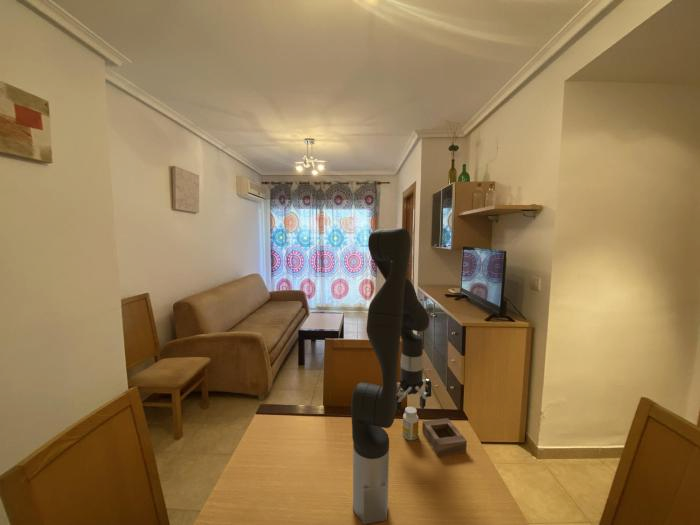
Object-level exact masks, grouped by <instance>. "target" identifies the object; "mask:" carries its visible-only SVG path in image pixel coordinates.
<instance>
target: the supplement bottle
mask: <svg viewBox="0 0 700 525" xmlns="http://www.w3.org/2000/svg"><path fill="white" fill-rule="evenodd" d="M417 414H418V412H417V408H415V407H414V406H407V407H405V409H404V413H403V415H402V435H403V437H404V438H405V439H406V440H409V441H414V440H417V439H418V437H419V416H418V415H417Z"/></svg>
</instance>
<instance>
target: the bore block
mask: <svg viewBox="0 0 700 525" xmlns="http://www.w3.org/2000/svg"><path fill="white" fill-rule="evenodd" d="M421 424H422V425H421V427H422V430H421V431H422V434H423V435H424V437H425V438H426V440H427V442H428V444H430V446H431V447H432V450H433V451H434V452H435V454H436V456H437V457H442V456H449V455H456V454H462V453H463V454H464V453H467V440H466V438H465V437H464V436H463V435H462V433H461V432H460V430H458V428H457V427H456V426H455V425H454V424H453V422H452V421H451V419H449V417H447V418H440V419H439V418H438V419H437V418H436V419H431V420H429V419H428V420H423V421H422V423H421Z"/></svg>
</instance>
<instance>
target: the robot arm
mask: <svg viewBox="0 0 700 525" xmlns="http://www.w3.org/2000/svg"><path fill="white" fill-rule="evenodd" d="M367 243H368V245H367V246H368V250H369V254H370V256H371V258H372V260H373V262H374V263H375V266H376V267H377V268H378V270H379V272H380V274H381V275H382V277H383V279H384V280H385V281H384V283H383V285H382V286H381V287H380V289H379V290H378V291H377V293H375V295H374V297H373V298H372V300H371V302H370V304H369V307H368V311H367V318H366V327H365V328H366V335H367V338H368V340H369V341H368V342H370V345H371V347H372V350H373V351H374V353H375V355H376V358H377V361H378V363H379V364H378V365H379V366H380V370H381V376H382V385H378V384H374V383H369V382H358V383H357V384H356V386H355V387H354V388H353V391H352V394H351V395H352V396H351V406H350V411H351V414H350V415H351V416H350V417H351V433H352V435H351V436H352V437H351V438H352V443H353V447H352V452H353V454H352V509H353V512H354V513H355V516H356V517H357V518H358V519H360V521H361V522H362V525H367V524H368V525H369V524H374V523H375V524H376V523H378V522H385V521H387V520H388V519H387V517H388V516H387V514H388V509H389V474H390V473H389V470H390V469H389V465H390V464H389V462H390V461H389V460H390V438H389V435H388V432H387V431H386V430H385V429H390V428H391V427H392V426H393V424H394V421H395V418H396V412H397V411H398V412H399V413H400V412H402V401H403V399H405V398H406V396H407V395H409V396H410V395H416V394H417V393H418V394H419V407H420V408H421V409H422V410H424V409H425V407H426V403H427V402H426V401H427V398H428V397H429V398H430V397H432V382H431V380H430V378H428V377H425V378H424V377H423V376H424V374H423V373H424V372H423V371H424V369H423V368H424V356H423V352H424V348H423V347H424V342H423V338H422V337H421V336H419V335H418V334H415V333H414V332H413V331H415V332H425V331H426V330H427V329H428V328H429V325H430V318H429V313H428V311H427V310H426V308H425V307H424V306H423V305H422V303H421V301H419V298H418V296H417V292H416V290H415V287H414V284H413V283H412V282H411V280H410V279H409V278H408V277H407V273H408V268H409V262H410V257H411V256H410V255H411V244H412V240H411V234H410V232H409V230H408V229H406V228H405V227H404V228H403V227H397V228H395V227H394V228H393V227H392V228H380V229H374V230H373V231H372V232H371V233H370V234H369V237H368V241H367ZM400 344H401V354H400ZM399 354H400V381H399V382H398V366H399V363H398V362H399ZM423 378H424V379H423ZM423 385H424V391H423V390H422V387H423ZM399 387H400V388H399Z"/></svg>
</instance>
